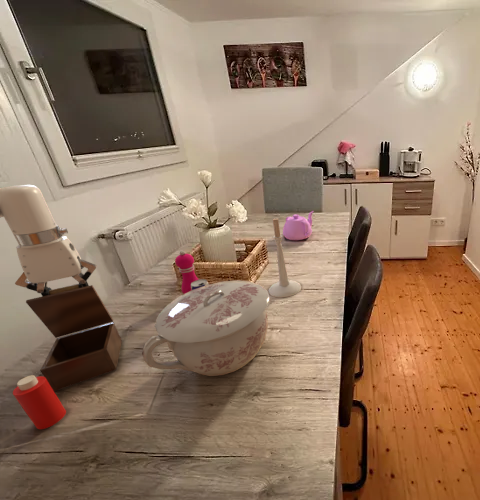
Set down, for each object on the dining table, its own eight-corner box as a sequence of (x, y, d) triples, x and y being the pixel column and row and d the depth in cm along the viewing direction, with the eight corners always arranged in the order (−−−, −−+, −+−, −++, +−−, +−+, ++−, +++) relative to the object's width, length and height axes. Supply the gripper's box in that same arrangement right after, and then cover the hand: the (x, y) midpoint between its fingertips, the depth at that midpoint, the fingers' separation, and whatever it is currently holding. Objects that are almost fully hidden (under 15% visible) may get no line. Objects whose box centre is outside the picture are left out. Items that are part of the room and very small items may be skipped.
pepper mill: (209, 295, 110) (196, 249, 102) (191, 304, 104) (176, 256, 97) (198, 291, 114) (186, 245, 106) (180, 299, 108) (166, 252, 100)
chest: (117, 371, 76) (106, 349, 73) (54, 394, 70) (39, 370, 66) (122, 342, 86) (113, 321, 83) (68, 359, 80) (56, 338, 77)
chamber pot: (278, 318, 95) (269, 263, 87) (276, 383, 70) (264, 315, 62) (189, 332, 90) (171, 275, 82) (153, 407, 65) (122, 337, 57)
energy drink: (204, 318, 96) (196, 288, 92) (195, 313, 99) (186, 284, 94) (218, 310, 101) (210, 281, 96) (209, 306, 103) (201, 277, 99)
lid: (92, 286, 74) (93, 275, 77) (25, 302, 68) (29, 289, 71) (113, 321, 83) (113, 310, 86) (55, 338, 77) (58, 325, 80)
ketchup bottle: (32, 434, 60) (1, 392, 55) (46, 414, 64) (20, 374, 59) (59, 427, 61) (32, 386, 56) (72, 408, 66) (47, 368, 61)
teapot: (326, 235, 170) (325, 213, 165) (297, 245, 156) (295, 221, 151) (304, 227, 184) (302, 207, 179) (275, 236, 170) (272, 214, 165)
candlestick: (299, 279, 120) (291, 211, 108) (303, 295, 108) (294, 220, 97) (268, 284, 117) (257, 215, 105) (269, 300, 105) (256, 224, 94)
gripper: (88, 226, 76) (112, 283, 83) (-5, 240, 68) (31, 303, 75) (82, 233, 70) (108, 295, 77) (-21, 250, 62) (20, 317, 69)
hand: (70, 298), depth 76 cm, fingers closed on lid, 6 cm apart
